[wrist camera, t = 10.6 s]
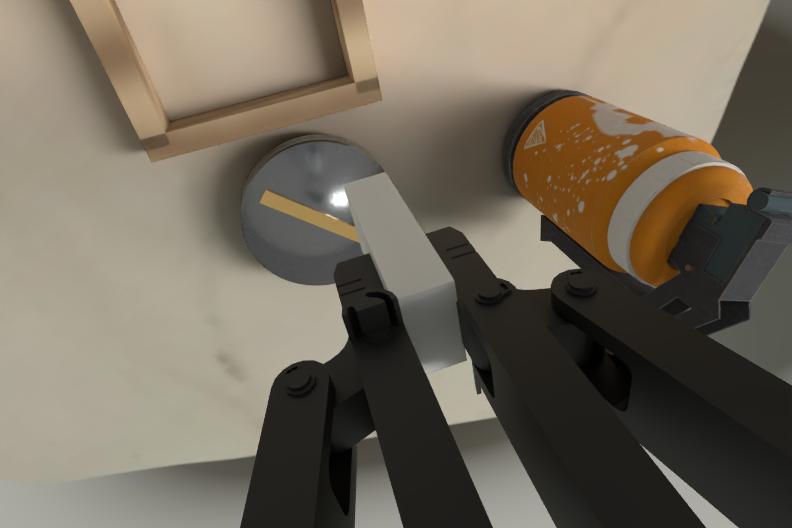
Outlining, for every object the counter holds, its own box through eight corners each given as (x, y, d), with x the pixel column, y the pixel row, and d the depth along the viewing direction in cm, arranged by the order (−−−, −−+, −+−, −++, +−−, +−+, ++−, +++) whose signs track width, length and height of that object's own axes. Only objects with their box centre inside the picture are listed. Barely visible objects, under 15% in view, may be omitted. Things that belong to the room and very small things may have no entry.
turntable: (217, 243, 35) (214, 272, 32) (281, 105, 32) (285, 122, 28) (387, 301, 42) (399, 330, 39) (456, 194, 38) (476, 216, 35)
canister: (616, 98, 39) (885, 198, 23) (564, 221, 44) (753, 374, 28) (521, 78, 36) (751, 176, 20) (477, 213, 41) (632, 378, 25)
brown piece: (43, -83, 25) (25, -87, 23) (325, -142, 27) (331, -150, 25) (157, 149, 32) (151, 162, 30) (373, 91, 34) (382, 100, 32)
